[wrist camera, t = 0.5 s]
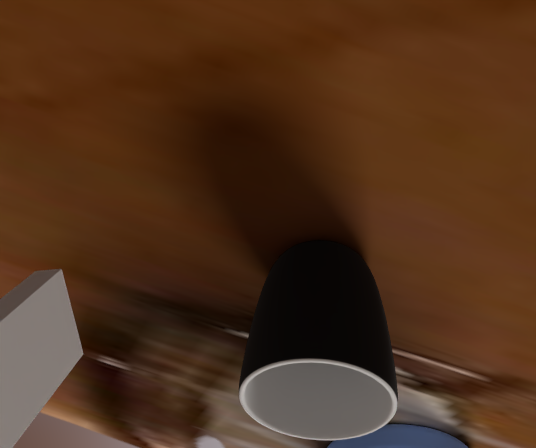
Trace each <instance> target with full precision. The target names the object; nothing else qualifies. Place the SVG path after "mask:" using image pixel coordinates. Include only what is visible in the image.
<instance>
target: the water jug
mask: <svg viewBox="0 0 536 448" xmlns="http://www.w3.org/2000/svg"><path fill="white" fill-rule="evenodd" d="M327 448H468V447H467V446H466V445H465V444H464V443H463V442H461V441H460V440H458V439H457V438H455V437H453V436H451V435H449V434H446V433H444V432H441V431H438V430H435V429H431V428H427V427H422V426H415V425H405V424H386V425H384V426H383V427H381V428H380V429H378V430H376V431H374V432H372V433H369V434H366V435H363V436H360V437H355V438H350V439H343V440H334V441H332V442H331V443H330V444H329V446H328V447H327Z"/></svg>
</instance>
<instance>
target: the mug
mask: <svg viewBox="0 0 536 448" xmlns="http://www.w3.org/2000/svg"><path fill="white" fill-rule="evenodd" d="M239 399H240V402H241V405H242V406H243V408H244V409H245V411H246V412H247V413H248V414H249V415H250V416H251V417H252V418H253V419H254V420H256V421H257V422H258V423H260V424H262V425H263V426H265V427H267V428H269V429H272V430H274V431H277V432H279V433H282V434H286V435H289V436H293V437H298V438H304V439H312V440H343V439H350V438H355V437H360V436H363V435H366V434H369V433H372V432H374V431H376V430H378V429H380V428H381V427H383V426H384V425H386V424H387V423H388V422H389V421H390V420H391V419H392V418H393V416H394V415H395V413H396V410H397V406H398V391H397V381H396V373H395V366H394V359H393V353H392V347H391V342H390V336H389V331H388V326H387V321H386V317H385V312H384V308H383V305H382V301H381V297H380V294H379V291H378V288H377V285H376V282H375V279H374V277H373V275H372V273H371V271H370V269H369V267H368V266H367V264H366V263H365V261H364V260H363V259H362V258H361V257H360V256H359V255H358V254H357V253H356V252H355V251H353V250H352V249H350V248H348V247H346V246H344V245H342V244H339V243H335V242H330V241H309V242H304V243H301V244H298V245H296V246H293V247H292V248H290V249H288V250H287V251H286V252H284V253H283V254H282V255H281V256H280V257H279V259H278V260H277V261H276V262H275V264H274V265H273V267H272V268H271V270H270V272H269V274H268V277H267V279H266V281H265V284H264V286H263V289H262V292H261V295H260V298H259V301H258V304H257V307H256V310H255V314H254V318H253V321H252V325H251V329H250V333H249V337H248V341H247V345H246V350H245V355H244V360H243V365H242V370H241V376H240V383H239Z"/></svg>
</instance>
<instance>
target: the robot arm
mask: <svg viewBox="0 0 536 448" xmlns="http://www.w3.org/2000/svg"><path fill="white" fill-rule="evenodd" d="M82 355H83V351H82V347H81V343H80V339H79V335H78V331H77V327H76V323H75V319H74V316H73V312H72V308H71V304H70V300H69V296H68V292H67V288H66V284H65V281H64V277H63V273H62V269H55V270H42V271H35V272H34V273H33V274H32V275H30V276H29V277H28V278H26V279H25V280H24V281H23V282H21V283H20V284H19V285H18V286H16V287H15V288H14V289H13V290H11V291H10V292H9V293H7V294H6V295H5V296H4V297H2V298H1V299H0V448H12V447H13V446H14V445H15V443H16V442H17V441H18V440H19V438H20V437H21V436H22V434H23V433H24V432H25V430H26V429H27V428H28V426H29V425H30V424H31V422H32V421H33V420H34V418H35V417H36V416H37V415H38V413H39V412H40V411H41V409H42V408H43V407H44V405H45V404H46V403H47V401H48V400H49V399H50V397H51V396H52V395H53V393H54V392H55V391H56V389H57V388H58V387H59V385H60V384H61V383H62V382H63V380H64V379H65V378H66V376H67V375H68V374H69V372H70V371H71V370H72V368H73V367H74V366H75V364H76V363H77V362H78V360H79V359H80V358H81V356H82Z"/></svg>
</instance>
